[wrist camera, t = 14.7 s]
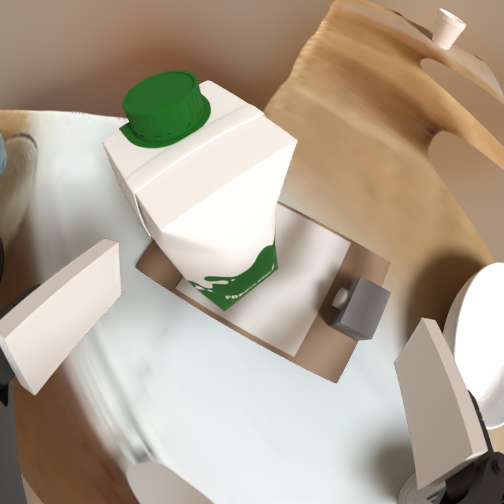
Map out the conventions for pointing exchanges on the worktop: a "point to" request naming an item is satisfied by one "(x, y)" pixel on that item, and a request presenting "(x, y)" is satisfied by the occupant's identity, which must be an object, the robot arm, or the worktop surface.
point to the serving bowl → (480, 340)
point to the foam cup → (447, 29)
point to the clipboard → (299, 295)
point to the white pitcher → (416, 492)
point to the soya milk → (203, 180)
